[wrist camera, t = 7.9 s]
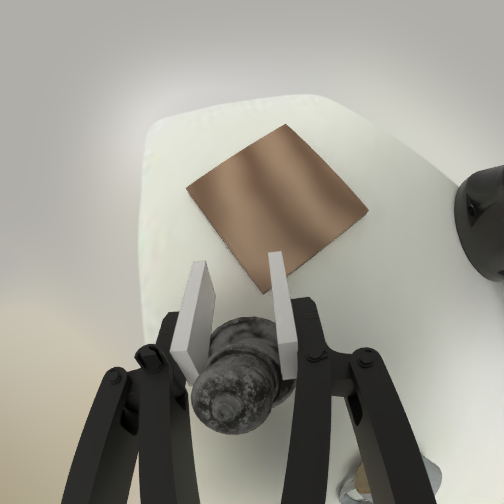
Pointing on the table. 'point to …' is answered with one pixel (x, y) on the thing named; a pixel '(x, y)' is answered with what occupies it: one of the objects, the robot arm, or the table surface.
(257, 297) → the table surface
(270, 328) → the weathered metal finial
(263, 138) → the walnut board
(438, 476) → the ceramic mug
